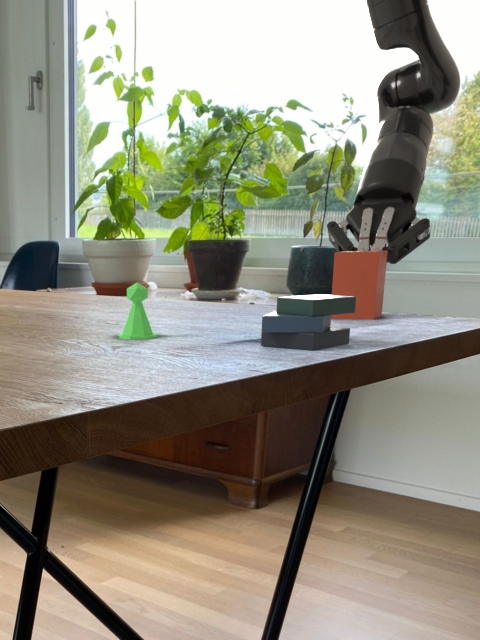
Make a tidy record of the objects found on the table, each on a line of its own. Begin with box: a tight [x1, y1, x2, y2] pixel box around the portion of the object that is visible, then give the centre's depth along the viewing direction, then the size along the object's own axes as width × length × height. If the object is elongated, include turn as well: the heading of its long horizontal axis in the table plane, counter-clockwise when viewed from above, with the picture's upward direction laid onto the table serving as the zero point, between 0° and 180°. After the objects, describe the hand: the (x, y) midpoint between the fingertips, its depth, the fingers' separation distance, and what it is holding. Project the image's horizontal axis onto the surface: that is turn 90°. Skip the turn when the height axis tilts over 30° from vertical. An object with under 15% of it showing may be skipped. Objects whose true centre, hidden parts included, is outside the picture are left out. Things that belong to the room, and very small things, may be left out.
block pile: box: [260, 293, 356, 351], centre depth 80 cm, size 8×8×4 cm
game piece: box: [118, 281, 158, 340], centre depth 86 cm, size 4×4×6 cm
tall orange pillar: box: [331, 250, 388, 321], centre depth 99 cm, size 5×5×8 cm
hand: (362, 285), depth 101 cm, fingers closed
